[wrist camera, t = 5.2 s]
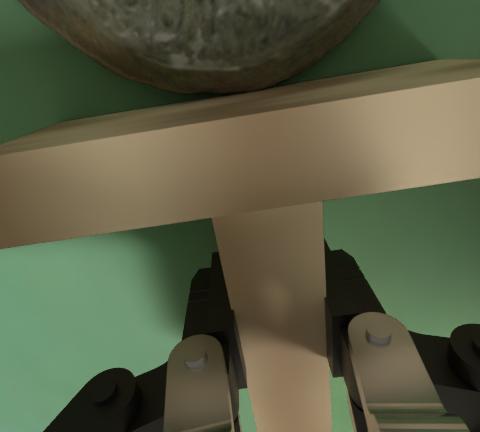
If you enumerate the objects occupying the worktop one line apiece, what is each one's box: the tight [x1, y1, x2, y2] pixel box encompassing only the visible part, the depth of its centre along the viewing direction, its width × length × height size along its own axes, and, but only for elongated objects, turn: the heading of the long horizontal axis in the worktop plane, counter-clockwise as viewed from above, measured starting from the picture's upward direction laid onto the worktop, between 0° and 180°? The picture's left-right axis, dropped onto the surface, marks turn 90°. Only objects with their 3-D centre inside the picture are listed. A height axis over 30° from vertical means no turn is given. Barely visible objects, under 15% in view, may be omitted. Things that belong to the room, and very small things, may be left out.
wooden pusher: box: [0, 59, 480, 432], centre depth 11 cm, size 12×12×4 cm
